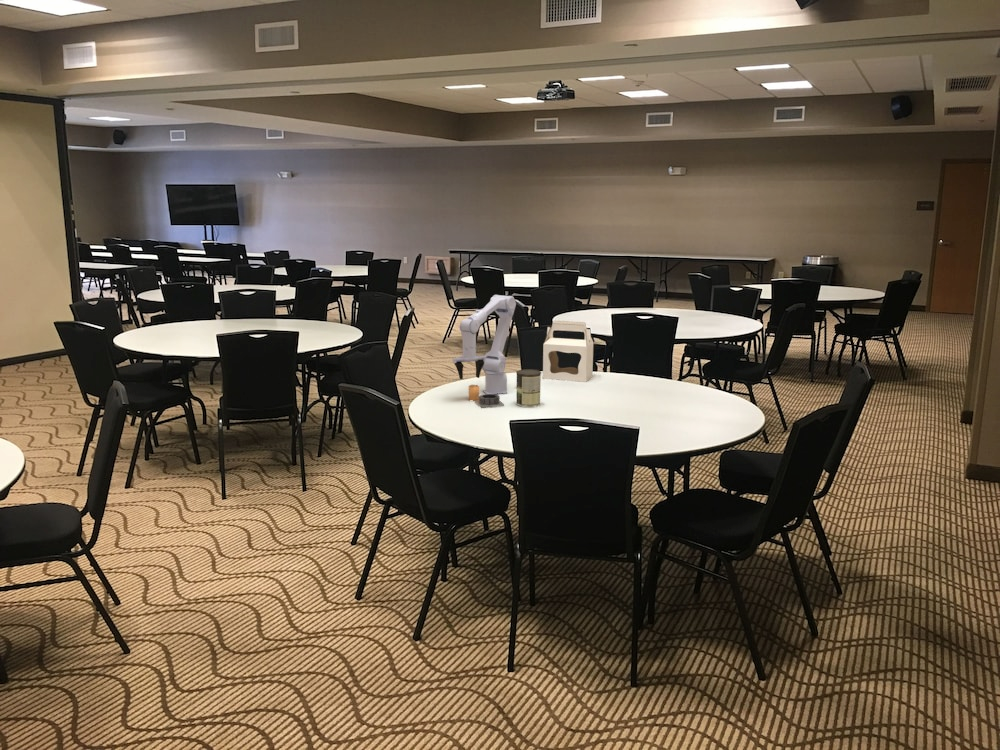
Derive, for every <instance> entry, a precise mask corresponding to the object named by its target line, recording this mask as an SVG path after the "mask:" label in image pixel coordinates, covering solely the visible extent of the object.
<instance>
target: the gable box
mask: <svg viewBox="0 0 1000 750" xmlns="http://www.w3.org/2000/svg"><path fill="white" fill-rule="evenodd" d="M555 331H563V332H564V331H565V332H581V333H584V339H579V338H567V337H566V338H564V337H562V338H561V337H554V332H555ZM591 334H592V332H591V328H589V329H588V328H587V325H586V322H584V321H569V320H568V321H567V320H566V321H565V320H553V321H552V325H551V326H547V330H546V336H545V339H544V342H543V344H542V345H543V347H542V348H543V349H542V350H543V352H542V354H543V355H542V379H543V378H544V379H543V380H553V379H556V381H557V380H558V381H566V380H567V382H580V383H587V382H588V381H589V380H590V379H591V378H593V369H594V368H593V367H594V366H593V365H594V364H593V363H594V340H593V337H592V335H591ZM557 352H561V353H567V354H571V353H572V354H573V353H574V354H579V355H580V361H579V363H578V366H577V368H576V367H574V366H573V367H572V366H569V367H559V355H558V353H557ZM586 381H587V382H586Z"/></svg>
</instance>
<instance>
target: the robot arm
mask: <svg viewBox="0 0 1000 750" xmlns="http://www.w3.org/2000/svg"><path fill="white" fill-rule="evenodd" d="M516 306H517V302H516V300H515V298H514V296H513V295H500V294H494V295H492V297H490V300H489V302H488V303H487V304H486V305H485V306H484V307H483V308H482V309H475V311H474V313H472V314H471V315H469V317H467V318H464V319H463V320H461V321H460V324H459V326H458V327H459V331H460V333H461V337H462V356H457V357H452V363H453V364H454V366H455V367H456V371H457V373H458V376H459V379H460V380H463V378H464V375H463V373H464V372H463V371H464V363H467V362H468V363H469V362H474V363H475V377H476V378H478V379H480V376H481V372H482V371H483V373H484V374H485V376H484V377H485V378H484V381H485V383H484V384H485V387H484V389H482V392H484V393H485V394H495V395H499V393H503V394H508V377H507V374H506V372H504V371H505V370H506V362H507V358H506V356H505V355H504V354H503V353H504V348H505V345H506V341H507V337H508V334H509V331H510V330H509V329H510V327H511V323H512V319H513V316H514V313H515V310H516ZM494 312H495V313H496V314H497V316H498V317H499V318H498V324H497V327H496V330H495V333H494V338H493V341H492V345H491V349H490V350H489V351H487V352H486V353H485V355H477V333H478V331H479V329H480V327H481V325H482V324H483V323H485V322H486V321H487V319H488V316H490V314H492V313H494ZM497 393H498V394H497Z"/></svg>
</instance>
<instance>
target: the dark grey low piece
mask: <svg viewBox="0 0 1000 750" xmlns="http://www.w3.org/2000/svg"><path fill="white" fill-rule="evenodd" d="M500 399H501V397H500V395H499V394H486V393H485V394H481V395H480V394H479V400H475V401H474V404H476V405H477V406H478V407H479V406H480V407H481V409H485V408H486V407H490V408H498V407H497V406H504V407H505V404H504V402H502V401H501V400H500ZM486 409H487V408H486Z"/></svg>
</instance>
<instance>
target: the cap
mask: <svg viewBox="0 0 1000 750" xmlns="http://www.w3.org/2000/svg"><path fill="white" fill-rule="evenodd" d="M479 396H480V386H479V385H478V384H470V385H468V401H470V400H473V401H472V402H475V400H479Z"/></svg>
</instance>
